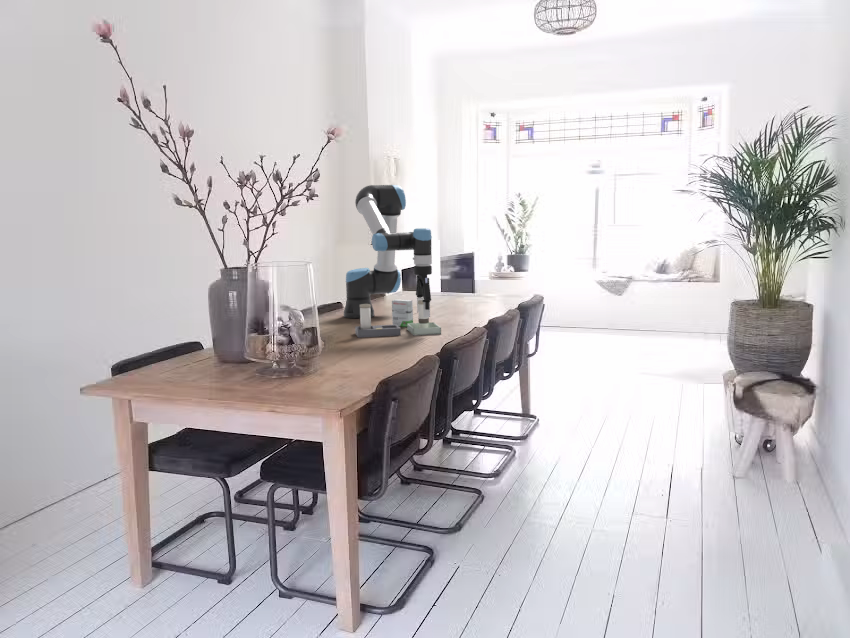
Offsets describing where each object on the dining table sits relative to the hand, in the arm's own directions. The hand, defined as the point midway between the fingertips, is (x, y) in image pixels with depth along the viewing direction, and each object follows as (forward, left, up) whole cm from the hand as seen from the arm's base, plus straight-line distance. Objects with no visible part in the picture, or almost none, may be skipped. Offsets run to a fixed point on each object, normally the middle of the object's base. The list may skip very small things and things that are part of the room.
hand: (423, 314), depth 302 cm
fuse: (0, -25, -7) cm, 26 cm away
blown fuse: (0, 0, -7) cm, 7 cm away
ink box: (-18, -6, -8) cm, 20 cm away
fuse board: (0, -20, -7) cm, 21 cm away
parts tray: (0, 0, -7) cm, 7 cm away
